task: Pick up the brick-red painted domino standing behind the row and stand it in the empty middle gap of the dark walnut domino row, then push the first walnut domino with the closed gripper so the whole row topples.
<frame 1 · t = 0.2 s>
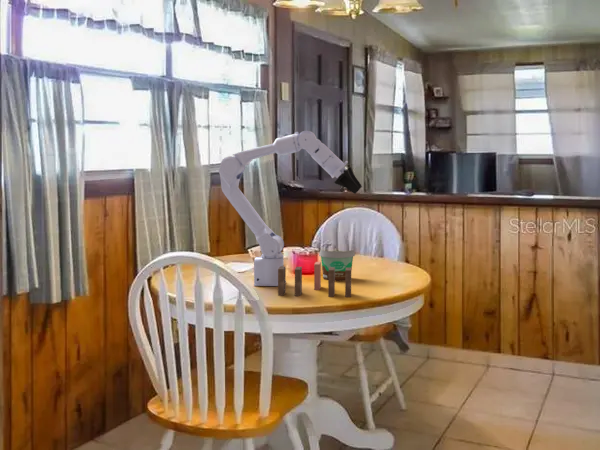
hand: (358, 190, 223), 31 cm above the table, tool tilted 45°, fingers open, 7 cm apart
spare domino: (317, 288, 223), on the table
food container: (338, 280, 237), on the table
domino 1: (281, 294, 214), on the table
domino 5: (348, 295, 212), on the table
domino 4: (331, 295, 213), on the table
domino 2: (298, 294, 214), on the table
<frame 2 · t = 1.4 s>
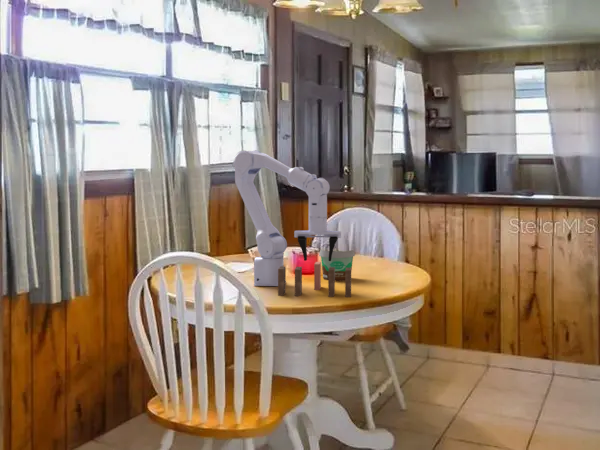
hand: (317, 260, 222), 9 cm above the table, tool pointing down, fingers open, 7 cm apart
nothing on the table moved.
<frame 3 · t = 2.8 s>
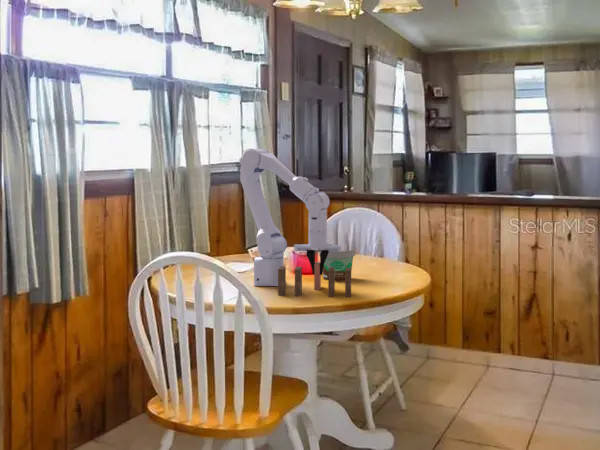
hand: (317, 274, 223), 4 cm above the table, tool pointing down, fingers closed on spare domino, 2 cm apart
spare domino: (317, 288, 223), on the table, touching gripper
everything else where it was.
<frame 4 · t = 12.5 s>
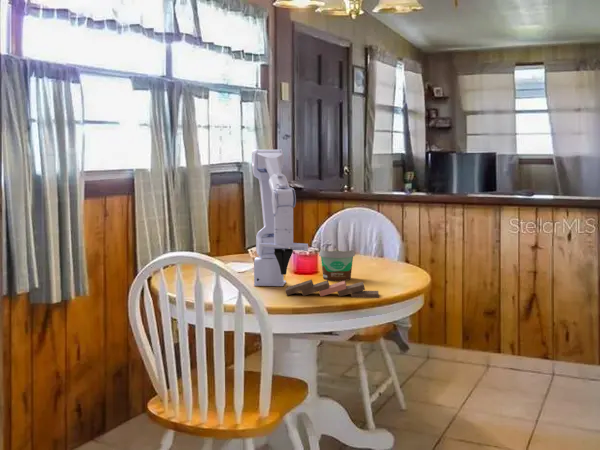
hand: (283, 274, 214), 6 cm above the table, tool pointing down, fingers closed
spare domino: (320, 292, 213), point 1 cm above the table, tilted 72°, touching domino 2
domino 1: (286, 291, 214), point 1 cm above the table, tilted 71°, touching domino 2
domino 5: (351, 294, 212), on the table, tilted 90°, touching domino 4
domino 4: (338, 292, 213), point 1 cm above the table, tilted 74°, touching domino 5
domino 2: (302, 291, 213), point 1 cm above the table, tilted 72°, touching domino 1, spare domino
everything else where it was.
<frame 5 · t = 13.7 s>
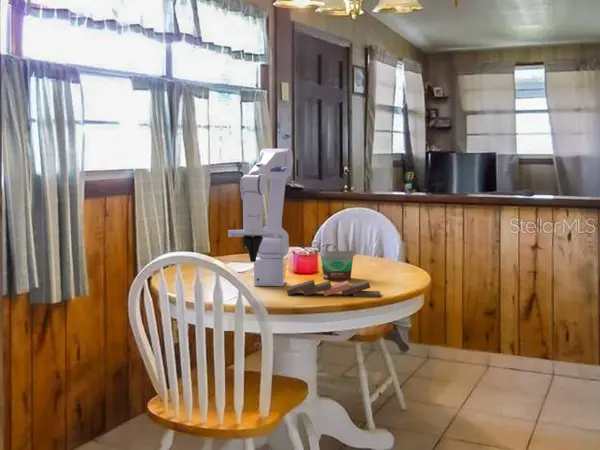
hand: (253, 261, 210), 10 cm above the table, tool pointing down, fingers closed
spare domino: (323, 292, 213), point 1 cm above the table, tilted 73°, touching domino 2, domino 4
domino 5: (353, 294, 212), on the table, tilted 90°
domino 4: (342, 291, 213), point 1 cm above the table, tilted 74°, touching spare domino
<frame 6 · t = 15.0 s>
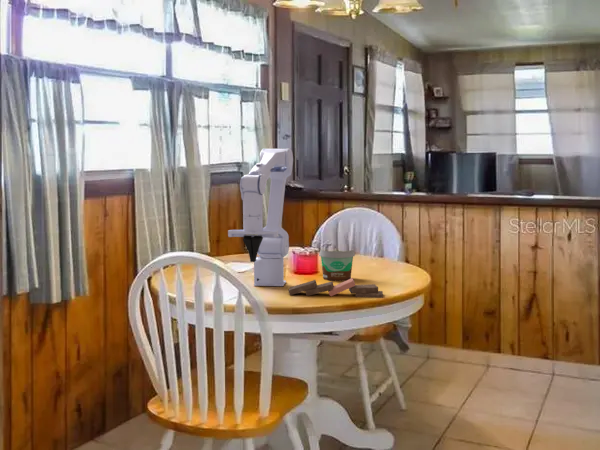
hand: (253, 261, 210), 10 cm above the table, tool pointing down, fingers closed
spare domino: (329, 292, 213), point 1 cm above the table, tilted 65°, touching domino 2
domino 5: (355, 294, 212), on the table, tilted 90°, touching domino 4
domino 4: (350, 289, 213), point 2 cm above the table, tilted 89°, touching domino 5
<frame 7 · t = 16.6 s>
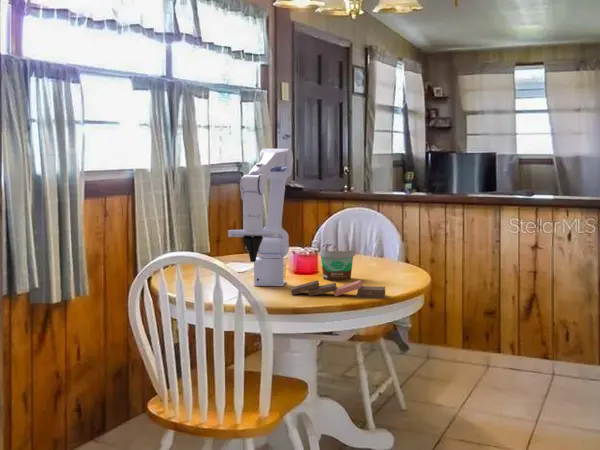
hand: (253, 261, 210), 10 cm above the table, tool pointing down, fingers closed
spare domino: (335, 292, 213), point 1 cm above the table, tilted 69°, touching domino 2, domino 4
domino 4: (358, 290, 211), point 2 cm above the table, tilted 90°, touching domino 5, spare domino
at the end: domino 5 tilted 90°; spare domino tilted 69°; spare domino inside the target area (4.3 cm from its centre), point 0.8 cm above the table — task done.
